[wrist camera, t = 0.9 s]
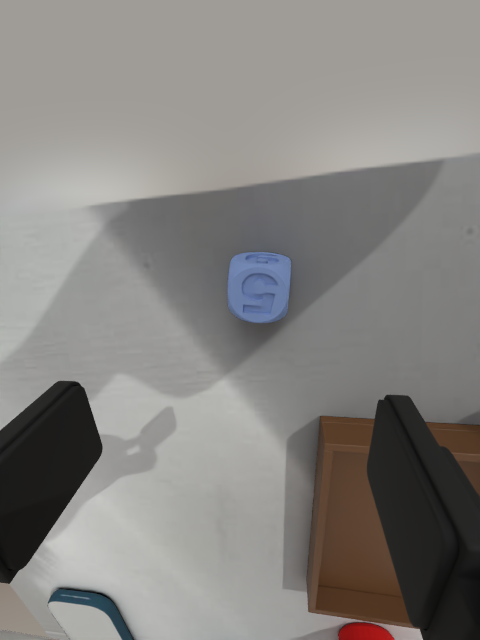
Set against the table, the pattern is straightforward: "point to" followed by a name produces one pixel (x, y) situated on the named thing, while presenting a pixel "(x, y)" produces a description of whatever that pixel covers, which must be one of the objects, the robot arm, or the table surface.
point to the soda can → (364, 632)
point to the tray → (362, 522)
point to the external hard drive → (87, 616)
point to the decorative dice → (259, 286)
